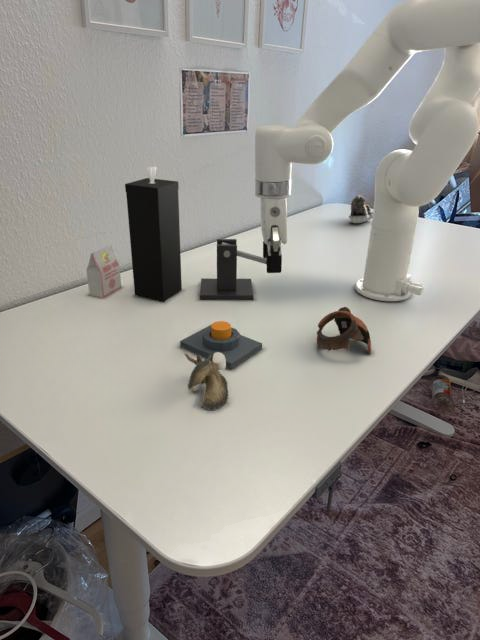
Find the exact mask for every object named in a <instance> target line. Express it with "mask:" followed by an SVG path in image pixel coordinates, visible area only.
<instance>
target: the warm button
mask: <svg viewBox="0 0 480 640" xmlns="http://www.w3.org/2000/svg"><path fill="white" fill-rule="evenodd" d="M211 324H212V325H211ZM211 324H210V325H211V336H212V338H214V339H220V340H224V339H228V338H230V337H231V327H232V324H231V323H230V322H228V321H224V320H218V321H214V322H213V323H211Z"/></svg>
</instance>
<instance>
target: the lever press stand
mask: <svg viewBox="0 0 480 640" xmlns="http://www.w3.org/2000/svg"><path fill="white" fill-rule="evenodd" d="M222 242H224V243H228V244H222ZM237 243H238V242H237V238H217V239H216V278H208V277H207V278H205V277H204V278H203V277H201V278H200V288H199V301H254V288H253V282H252V278H238V277H237V276H238V275H237V273H238V272H237V271H238V269H237V268H238V256H237V250H238V245H237ZM230 244H231V245H230Z"/></svg>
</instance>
